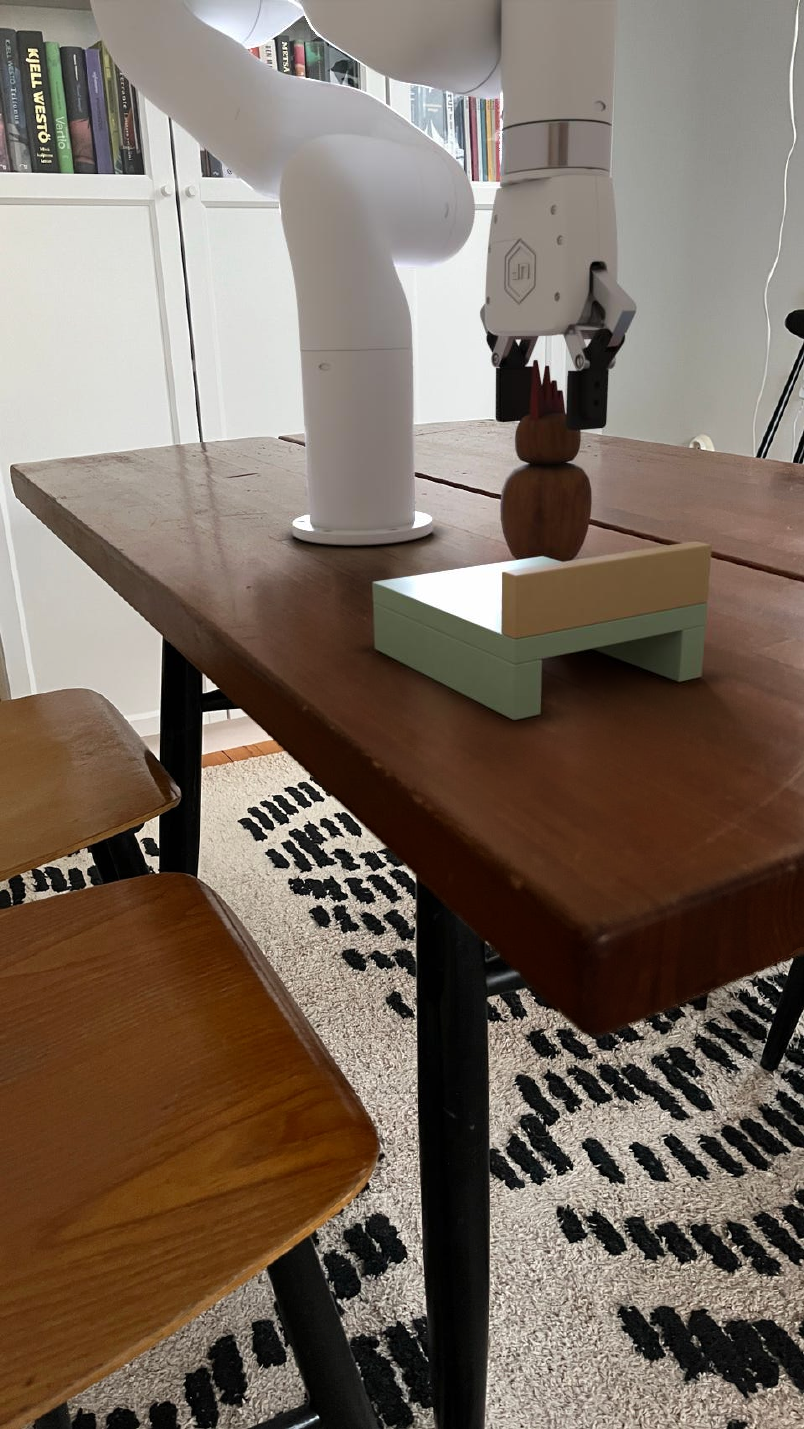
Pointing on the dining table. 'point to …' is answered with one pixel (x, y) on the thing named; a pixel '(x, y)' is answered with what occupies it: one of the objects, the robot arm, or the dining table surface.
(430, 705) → the dining table surface
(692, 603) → the shelf
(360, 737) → the dining table surface
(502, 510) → the wooden figurine
